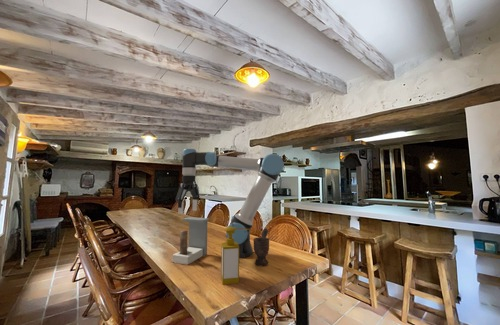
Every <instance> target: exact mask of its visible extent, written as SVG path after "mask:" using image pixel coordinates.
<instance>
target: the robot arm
mask: <svg viewBox="0 0 500 325" xmlns="http://www.w3.org/2000/svg"><path fill="white" fill-rule="evenodd" d="M181 157H182V169H181V170H182V173H181V174H182V176H181V182H182V183H179V187H178V191H177V193H176V196H175V202H177V208H178V209H177V214H178V215H183V214H184V199H185V197H186V195H187V193H188V192H190V194H191V196H192V211H194V212H195V211H196V212H197V211H198V200H200V193H199V189H198V183H197V182H196V173H197V172H196V171H197V169H196V168H197V167H196V166H207V167H211V168H222V169H223V168H224V169H233V170H244V171H245V170H246V171H255V172H257V174H258V175H257V177H256V180H255V182H254V183H253V185H252V187H251V189H250V192H249V193H248V194H247V197H246V199H245V200H244V201H243V202H244V203H243V205H242V207H241V208H240V210H239V212H237V213H235V214H234V215H232V216H231V218H230V219H231V222H230V223H229V225H228V226H227V227H234V228H246V229H250V230H246V229H236V230H235V233H234V234H232V238H234V242H237V243H238V245H239V259H241V258H242V259H243V258H249V257H250V256H252V255H253V254H254V253H253V250H254V248H253V247H252V243H251V230H252V228H253V226H254V222H253V220H254V218H255V216H256V214H257V212H258V211H259V208H260V206H261V204H262V202H263V201H264V199H265V196H266V195H267V193H268V191H269V190H270V187H271V185H272V183H275V182H276V181H277V180H278V177H279V176H280V174H281V172H282V171H283V169H284V165H285V164H284V160H283V158H282V157H281V156H280V155H279V154H276V153H270V154H267V155H266V156H264V157H259V158H253V157H252V158H249V157H240V156H239V157H238V156H237V157H236V156H226V155H218V154H216V152H213V151H212V152H211V151H205V152H202V151H201V152H200V151H199V152H197V150H196V149H194V148H184V149H183V151H182V156H181ZM225 234H226V235H225V236H226V239H227V238H229V234H227V233H226V232H225Z"/></svg>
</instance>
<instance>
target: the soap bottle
mask: <svg viewBox="0 0 500 325" xmlns="http://www.w3.org/2000/svg"><path fill="white" fill-rule="evenodd" d="M236 229H246V228H234V227H228V226H227V227H226V228H224V231H225V234H226V233H227V234H229V238H227V237H226V239H225V240H226V242H221V266H220V267H221V271H220V272H221V273H220V275H221V278H220V279H221V285H230V284H231V285H232V284H239V283H240V258H239V245H238V243H237V242H234V238H232V234H234V233H235V230H236ZM246 230H250V229H246ZM250 231H251V230H250Z"/></svg>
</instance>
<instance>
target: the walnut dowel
mask: <svg viewBox="0 0 500 325" xmlns="http://www.w3.org/2000/svg"><path fill="white" fill-rule="evenodd" d="M188 236H189V230H181V231H179V251H180V254H181V255H187V248H188Z"/></svg>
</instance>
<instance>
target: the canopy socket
mask: <svg viewBox="0 0 500 325" xmlns="http://www.w3.org/2000/svg"><path fill="white" fill-rule="evenodd" d="M209 221H210V219H209V217H195V216H193V217H192V216H189V217H185V218H182V222H183V223H185V222H186V223H188V242H187V255H181V254H180V250H179V251H178V252H175V253H173V254H172V260H171V262H172V263H173V262H174V264H181V265H188V266H189V264H191V263H193V262H194V261H196V260H198V259H200V258H201V257H202V256H207V254H208V253H207V252H208V222H209Z"/></svg>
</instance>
